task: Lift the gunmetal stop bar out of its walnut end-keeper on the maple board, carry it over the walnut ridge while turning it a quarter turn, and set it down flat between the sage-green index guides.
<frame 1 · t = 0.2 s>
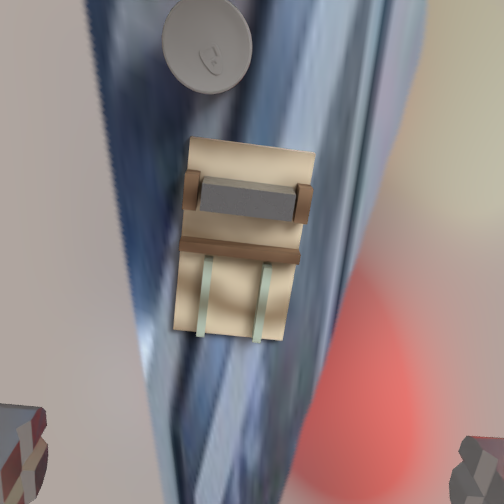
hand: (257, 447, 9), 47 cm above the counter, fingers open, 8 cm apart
canned food: (213, 51, 50), on the counter
stop bar: (247, 194, 54), point 1 cm above the counter, touching lock board
lock board: (239, 243, 58), on the counter
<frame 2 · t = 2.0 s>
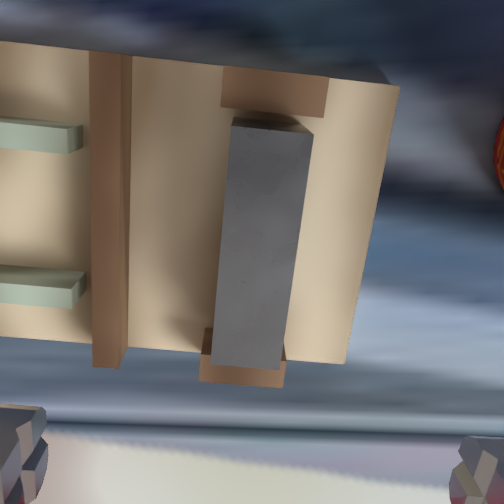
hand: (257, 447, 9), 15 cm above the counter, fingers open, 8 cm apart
stop bar: (255, 228, 23), point 1 cm above the counter, touching lock board
lock board: (123, 208, 23), on the counter
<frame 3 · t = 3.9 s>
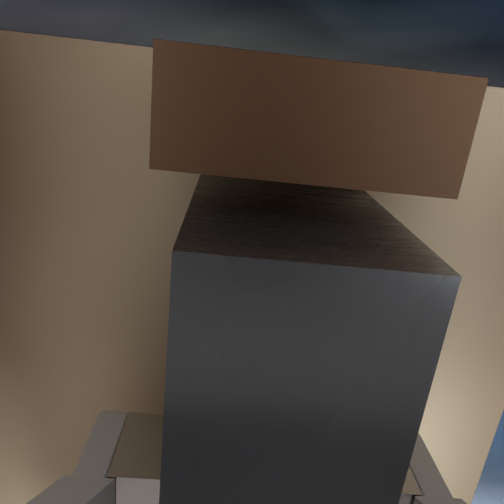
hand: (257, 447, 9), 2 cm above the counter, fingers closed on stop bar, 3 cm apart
stop bar: (253, 409, 10), point 1 cm above the counter, touching gripper, lock board
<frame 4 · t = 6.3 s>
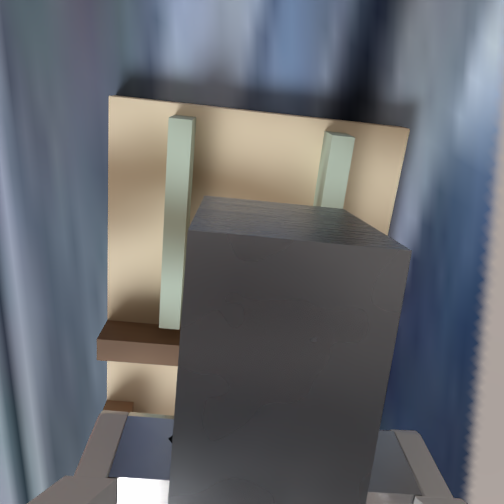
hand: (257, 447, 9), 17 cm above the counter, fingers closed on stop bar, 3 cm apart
stop bar: (251, 411, 11), point 15 cm above the counter, tilted 6°, touching gripper
lock board: (237, 329, 27), on the counter
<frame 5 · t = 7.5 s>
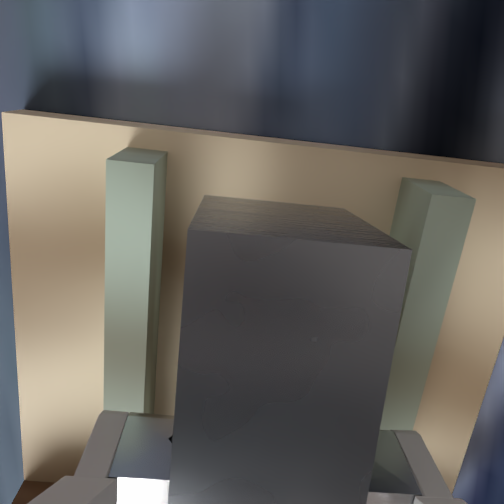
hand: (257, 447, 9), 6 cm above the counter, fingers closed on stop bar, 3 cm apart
stop bar: (251, 411, 11), point 4 cm above the counter, tilted 7°, touching gripper
lock board: (239, 480, 17), on the counter
when the fingers open (4 cm above the counter, at t = 8.3 s): stop bar stays where it is, resting on lock board.
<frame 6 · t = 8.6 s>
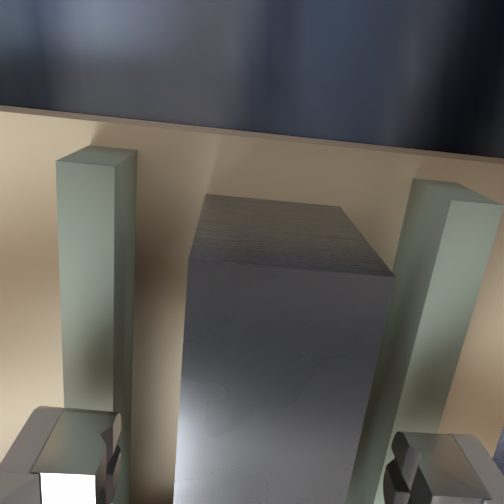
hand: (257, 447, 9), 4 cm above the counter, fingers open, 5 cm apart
stop bar: (250, 388, 12), point 1 cm above the counter, touching lock board
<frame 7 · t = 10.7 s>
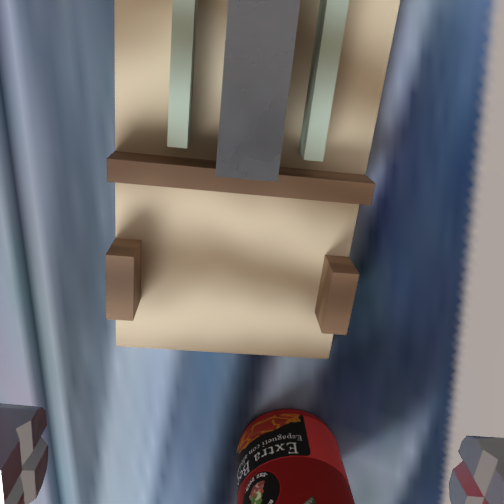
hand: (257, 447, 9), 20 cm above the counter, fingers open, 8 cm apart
canned food: (286, 444, 37), on the counter
stop bar: (253, 65, 25), point 1 cm above the counter, touching lock board
lock board: (241, 168, 28), on the counter
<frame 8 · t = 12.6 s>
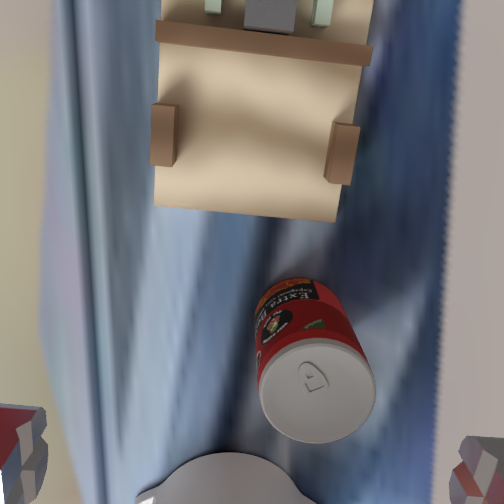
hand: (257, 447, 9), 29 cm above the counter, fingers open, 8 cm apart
canned food: (297, 315, 41), on the counter
lock board: (262, 46, 34), on the counter
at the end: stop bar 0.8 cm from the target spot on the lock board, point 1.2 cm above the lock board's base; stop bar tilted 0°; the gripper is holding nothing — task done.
